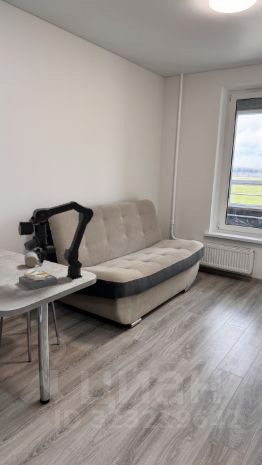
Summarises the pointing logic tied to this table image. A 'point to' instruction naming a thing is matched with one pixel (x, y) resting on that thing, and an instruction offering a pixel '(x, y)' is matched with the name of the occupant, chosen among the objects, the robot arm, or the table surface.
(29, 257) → the ceramic mug
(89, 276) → the table surface
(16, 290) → the table surface
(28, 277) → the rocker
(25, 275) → the rocker
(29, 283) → the switch unit
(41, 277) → the rocker
